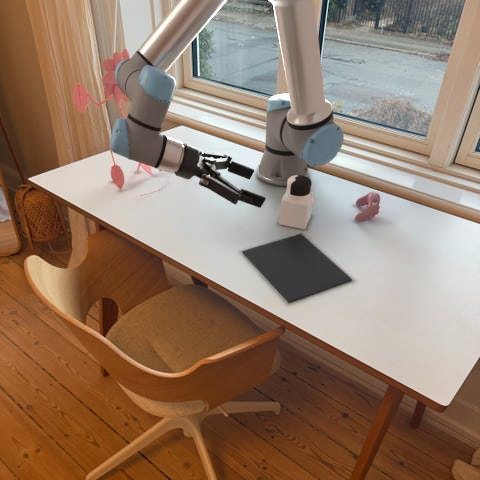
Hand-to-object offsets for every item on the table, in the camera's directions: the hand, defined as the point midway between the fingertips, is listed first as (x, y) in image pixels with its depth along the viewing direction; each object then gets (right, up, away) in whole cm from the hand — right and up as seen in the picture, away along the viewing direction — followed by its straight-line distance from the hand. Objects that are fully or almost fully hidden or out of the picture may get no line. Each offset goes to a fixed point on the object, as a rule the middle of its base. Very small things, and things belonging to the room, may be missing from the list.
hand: (257, 188), depth 118 cm
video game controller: (+30, -5, +10) cm, 32 cm away
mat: (+9, -21, -8) cm, 24 cm away
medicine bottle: (+10, -7, +7) cm, 14 cm away
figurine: (-34, +7, +20) cm, 40 cm away
